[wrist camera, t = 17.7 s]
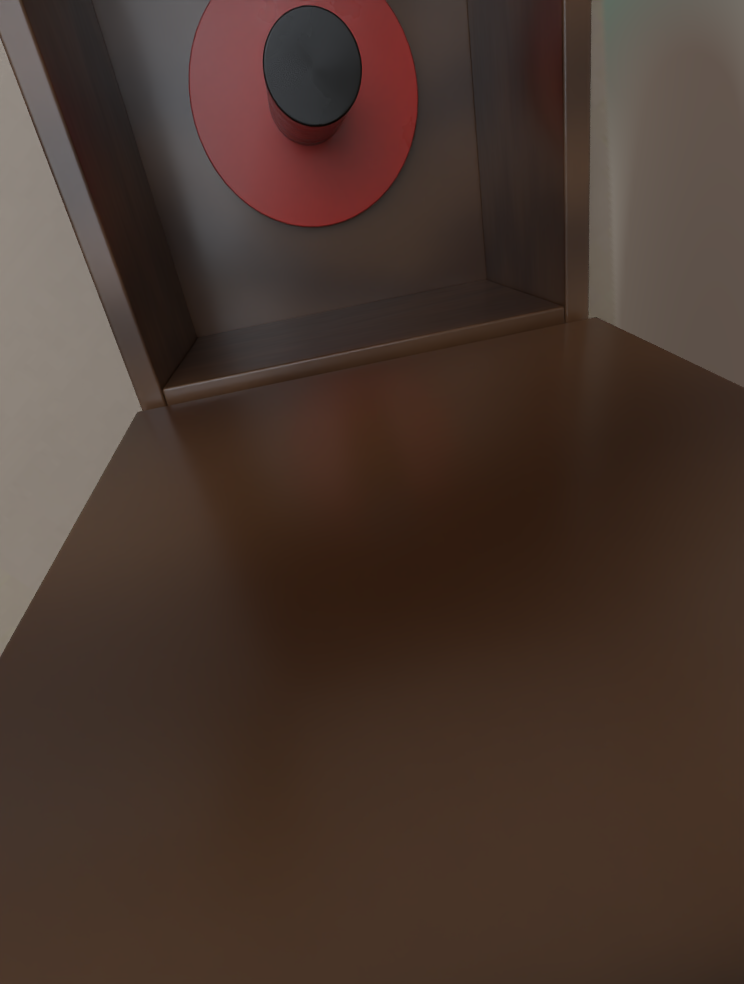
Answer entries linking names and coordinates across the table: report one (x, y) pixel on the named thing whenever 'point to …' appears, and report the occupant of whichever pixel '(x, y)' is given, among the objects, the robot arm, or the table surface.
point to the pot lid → (304, 103)
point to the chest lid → (393, 683)
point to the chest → (328, 249)
